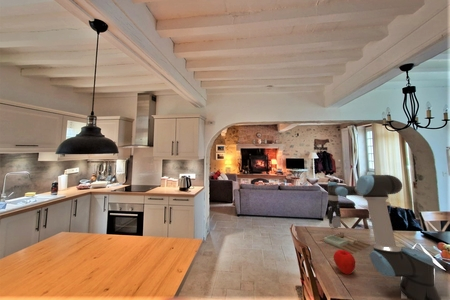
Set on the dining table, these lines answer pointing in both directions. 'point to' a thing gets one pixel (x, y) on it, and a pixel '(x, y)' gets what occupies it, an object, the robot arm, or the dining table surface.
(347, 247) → the bench board
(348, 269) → the apple
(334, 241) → the tray
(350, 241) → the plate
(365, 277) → the dining table surface
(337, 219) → the medicine box
